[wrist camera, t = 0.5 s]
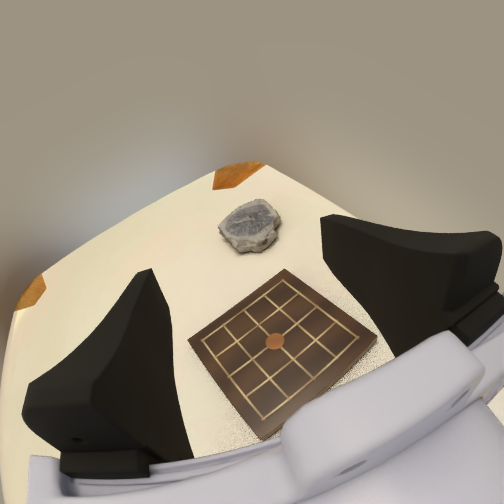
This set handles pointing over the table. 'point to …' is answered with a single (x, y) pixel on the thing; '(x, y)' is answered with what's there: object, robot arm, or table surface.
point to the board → (279, 350)
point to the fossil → (251, 226)
